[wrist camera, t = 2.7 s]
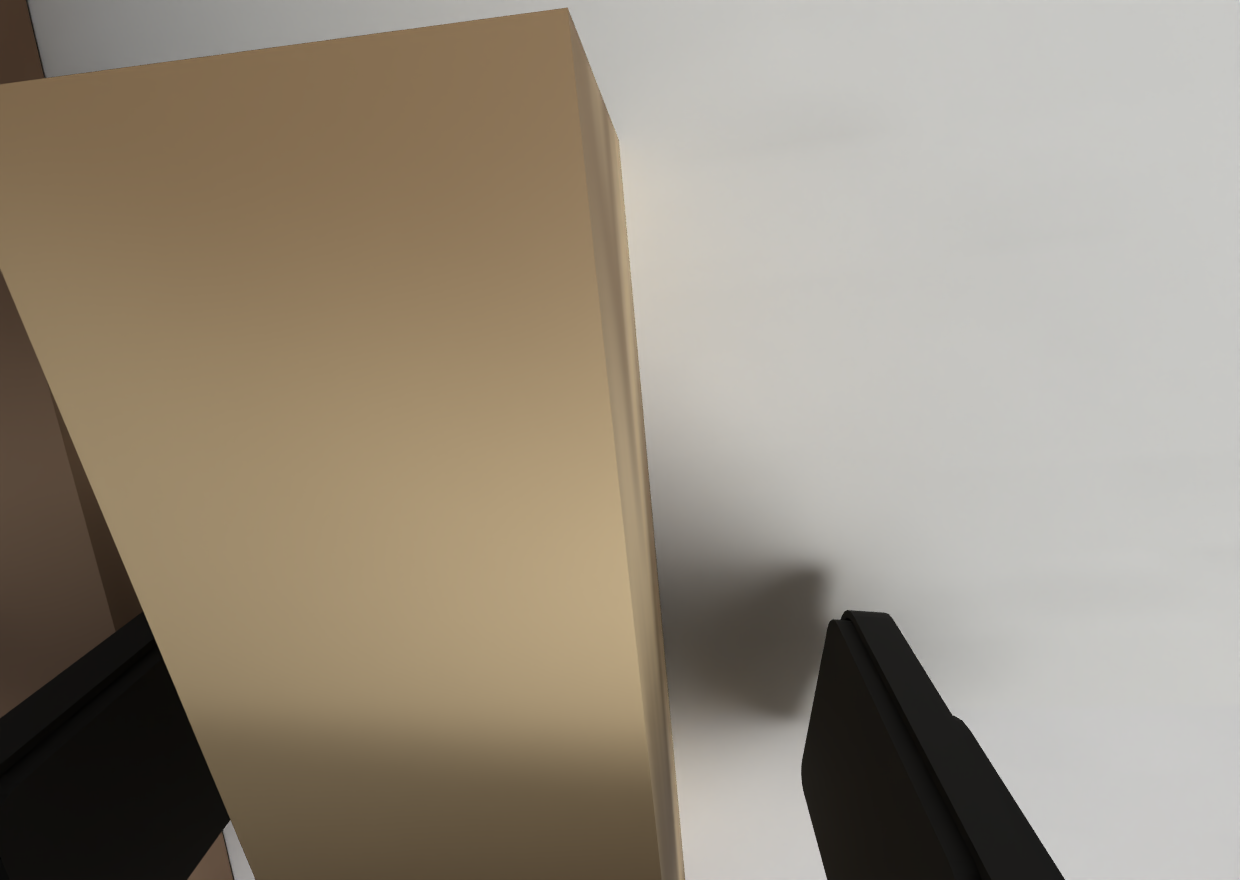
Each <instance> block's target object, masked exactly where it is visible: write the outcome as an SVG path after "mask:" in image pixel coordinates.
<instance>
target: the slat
mask: <svg viewBox="0 0 1240 880" xmlns="http://www.w3.org/2000/svg"><path fill="white" fill-rule="evenodd" d="M0 269H1V272H2V274H3V276H4V279H5V281H6V284H7V286H8V288H9V291H10V293H11V296H12V298H13V300H14V303H15V305H16V308H17V310H18V312H19V315H20V317H21V320H22V322H23V324H24V327H25V329H26V331H27V334H28V336H29V339H30V341H31V343H32V346H33V348H34V351H35V353H36V355H37V358H38V360H39V363H40V365H41V367H42V370H43V372H44V375H45V377H46V379H47V382H48V384H49V387H50V389H51V391H52V394H53V396H54V399H55V401H56V403H57V406H58V408H59V410H60V413H61V415H62V418H63V420H64V422H65V425H66V427H67V430H68V432H69V434H70V437H71V439H72V442H73V444H74V446H75V449H76V451H77V454H78V456H79V458H80V461H81V463H82V466H83V468H84V470H85V473H86V475H87V477H88V480H89V482H90V485H91V487H92V489H93V492H94V494H95V497H96V499H97V501H98V504H99V506H100V509H101V511H102V513H103V516H104V518H105V521H106V523H107V525H108V528H109V530H110V533H111V535H112V537H113V540H114V542H115V544H116V547H117V549H118V552H119V554H120V556H121V559H122V561H123V564H124V566H125V568H126V571H127V573H128V576H129V578H130V580H131V583H132V585H133V588H134V590H135V592H136V595H137V597H138V600H139V602H140V604H141V607H142V609H143V611H144V614H145V616H146V619H147V621H148V623H149V626H150V628H151V631H152V633H153V635H154V638H155V640H156V643H157V645H158V647H159V650H160V652H161V655H162V657H163V659H164V662H165V664H166V667H167V669H168V671H169V674H170V676H171V678H172V681H173V683H174V686H175V688H176V690H177V693H178V695H179V698H180V700H181V702H182V705H183V707H184V710H185V712H186V714H187V717H188V719H189V722H190V724H191V726H192V729H193V731H194V734H195V736H196V738H197V741H198V743H199V745H200V748H201V750H202V753H203V755H204V757H205V760H206V762H207V765H208V767H209V769H210V772H211V774H212V777H213V779H214V781H215V784H216V786H217V789H218V791H219V793H220V796H221V798H222V801H223V803H224V805H225V808H226V810H227V813H228V815H229V817H230V820H231V822H232V824H233V827H234V829H235V832H236V834H237V836H238V839H239V841H240V844H241V846H242V848H243V851H244V853H245V856H246V858H247V860H248V863H249V865H250V868H251V870H252V872H253V875H254V877H255V880H685V873H684V862H683V851H682V840H681V829H680V818H679V807H678V795H677V784H676V773H675V762H674V751H673V740H672V729H671V717H670V706H669V695H668V684H667V673H666V662H665V651H664V640H663V628H662V617H661V606H660V595H659V584H658V573H657V562H656V550H655V539H654V528H653V517H652V506H651V495H650V484H649V473H648V461H647V450H646V439H645V428H644V417H643V406H642V395H641V383H640V372H639V361H638V350H637V339H636V328H635V317H634V306H633V294H632V283H631V272H630V261H629V250H628V239H627V228H626V216H625V205H624V194H623V183H622V172H621V161H620V150H619V140H618V137H617V134H616V132H615V129H614V127H613V124H612V121H611V119H610V116H609V114H608V111H607V108H606V106H605V103H604V101H603V98H602V95H601V93H600V90H599V88H598V85H597V83H596V80H595V77H594V75H593V72H592V70H591V67H590V64H589V62H588V59H587V57H586V54H585V51H584V49H583V46H582V44H581V41H580V38H579V36H578V33H577V31H576V28H575V26H574V23H573V20H572V18H571V15H570V13H569V10H568V8H562V9H554V10H547V11H540V12H532V13H525V14H517V15H510V16H503V17H495V18H488V19H480V20H473V21H466V22H458V23H451V24H443V25H436V26H429V27H421V28H414V29H406V30H399V31H391V32H384V33H377V34H369V35H362V36H354V37H347V38H340V39H332V40H325V41H317V42H310V43H303V44H295V45H288V46H280V47H273V48H266V49H258V50H251V51H243V52H236V53H228V54H221V55H214V56H206V57H199V58H191V59H184V60H177V61H169V62H162V63H154V64H147V65H140V66H132V67H125V68H117V69H110V70H102V71H95V72H88V73H80V74H73V75H65V76H58V77H51V78H43V79H36V80H28V81H21V82H14V83H6V84H0Z"/></svg>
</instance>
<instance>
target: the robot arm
mask: <svg viewBox="0 0 1240 880" xmlns="http://www.w3.org/2000/svg"><path fill="white" fill-rule="evenodd" d="M801 776H802V786H803V791H804V795H805V799H806V802H807V806H808V810H809V814H810V817H811V821H812V825H813V828H814V832H815V836H816V840H817V843H818V847H819V851H820V854H821V858H822V862H823V866H824V869H825V873H826V877H827V880H1065V879H1064V877H1063V876H1062V874H1061V873H1060V871H1059V869H1058V868H1057V866H1056V865H1055V863H1054V862H1053V860H1052V858H1051V857H1050V855H1049V854H1048V852H1047V851H1046V849H1045V847H1044V846H1043V844H1042V843H1041V841H1040V840H1039V838H1038V836H1037V835H1036V833H1035V832H1034V830H1033V829H1032V827H1031V825H1030V824H1029V822H1028V821H1027V819H1026V818H1025V816H1024V814H1023V813H1022V811H1021V810H1020V808H1019V806H1018V805H1017V803H1016V802H1015V800H1014V799H1013V797H1012V795H1011V794H1010V792H1009V791H1008V789H1007V788H1006V786H1005V784H1004V783H1003V781H1002V780H1001V778H1000V777H999V775H998V773H997V772H996V770H995V769H994V767H993V766H992V764H991V762H990V761H989V759H988V758H987V756H986V754H985V753H984V751H983V750H982V748H981V747H980V745H979V743H978V742H977V740H976V739H975V737H974V736H973V734H972V732H971V731H970V730H969V728H968V727H967V726H966V725H965V723H964V722H963V721H962V720H960V719H959V718H957V717H955V716H952V714H951V712H950V711H949V709H948V708H947V706H946V704H945V703H944V701H943V699H942V698H941V696H940V695H939V693H938V691H937V690H936V688H935V687H934V685H933V683H932V682H931V680H930V678H929V677H928V675H927V674H926V672H925V670H924V669H923V667H922V665H921V664H920V662H919V661H918V659H917V657H916V656H915V654H914V653H913V651H912V649H911V648H910V646H909V644H908V643H907V641H906V640H905V638H904V636H903V635H902V633H901V631H900V630H899V628H898V627H897V625H896V623H895V622H894V620H893V619H892V617H891V616H890V615H889V614H887V613H881V612H867V611H852V610H847V611H845V612H844V613H843V615H842V617H841V620H831V621H830V623H829V625H828V629H827V634H826V639H825V644H824V649H823V654H822V660H821V665H820V670H819V675H818V681H817V686H816V691H815V696H814V701H813V707H812V712H811V717H810V722H809V727H808V733H807V738H806V743H805V748H804V753H803V759H802V766H801ZM229 821H230V817H229V815H228V813H227V810H226V808H225V805H224V803H223V801H222V798H221V796H220V793H219V791H218V789H217V786H216V784H215V781H214V779H213V777H212V774H211V772H210V769H209V767H208V765H207V762H206V760H205V757H204V755H203V753H202V750H201V748H200V745H199V743H198V741H197V738H196V736H195V734H194V731H193V729H192V726H191V724H190V722H189V719H188V717H187V714H186V712H185V710H184V707H183V705H182V702H181V700H180V698H179V695H178V693H177V690H176V688H175V686H174V683H173V681H172V678H171V676H170V674H169V671H168V669H167V667H166V664H165V662H164V659H163V657H162V655H161V652H160V650H159V647H158V645H157V643H156V640H155V638H154V635H153V633H152V631H151V628H150V626H149V623H148V621H147V619H146V616H145V614H144V611H143V612H141V613H140V614H139V615H137V616H136V617H135V618H133V619H132V620H131V621H129V622H128V623H127V624H125V625H124V626H123V627H121V628H120V629H119V630H117V631H116V632H115V633H113V634H112V635H111V636H109V637H108V638H107V639H105V640H104V641H103V642H101V643H100V644H99V645H97V646H96V647H95V648H93V649H92V650H91V651H89V652H88V653H87V654H85V655H84V656H83V657H81V658H80V659H79V660H77V661H76V662H75V663H73V664H72V665H71V666H69V667H68V668H67V669H65V670H64V671H63V672H61V673H60V674H59V675H57V676H56V677H55V678H53V679H52V680H51V681H49V682H48V683H47V684H45V685H44V686H43V687H41V688H40V689H39V690H37V691H36V692H35V693H33V694H32V695H31V696H29V697H28V698H27V699H25V700H24V701H23V702H21V703H20V704H19V705H17V706H16V707H15V708H13V709H12V710H10V711H9V712H8V713H6V714H5V715H4V716H2V717H1V718H0V880H187V879H188V878H189V877H190V875H191V874H192V872H193V871H194V870H195V868H196V867H197V866H198V864H199V863H200V861H201V860H202V859H203V857H204V856H205V854H206V853H207V852H208V850H209V849H210V847H211V846H212V845H213V843H214V842H215V840H216V839H217V838H218V836H219V835H220V833H221V832H222V831H223V829H224V828H225V826H226V825H227V824H228V822H229Z"/></svg>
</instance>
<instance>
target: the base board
mask: <svg viewBox="0 0 1240 880" xmlns="http://www.w3.org/2000/svg"><path fill="white" fill-rule="evenodd" d="M43 78H44V75H43V71H42V67H41V62H40V58H39V54H38V50H37V45H36V41H35V37H34V33H33V28H32V24H31V20H30V16H29V11H28V7H27V3H26V0H0V84H6V83H14V82H21V81H28V80H36V79H43ZM141 612H143V609H142V607H141V604H140V602H139V600H138V597H137V595H136V592H135V590H134V588H133V585H132V583H131V580H130V578H129V576H128V573H127V571H126V568H125V566H124V564H123V561H122V559H121V556H120V554H119V552H118V549H117V547H116V544H115V542H114V540H113V537H112V535H111V533H110V530H109V528H108V525H107V523H106V521H105V518H104V516H103V513H102V511H101V509H100V506H99V504H98V501H97V499H96V497H95V494H94V492H93V489H92V487H91V485H90V482H89V480H88V477H87V475H86V473H85V470H84V468H83V466H82V463H81V461H80V458H79V456H78V454H77V451H76V449H75V446H74V444H73V442H72V439H71V437H70V434H69V432H68V430H67V427H66V425H65V422H64V420H63V418H62V415H61V413H60V410H59V408H58V406H57V403H56V401H55V399H54V396H53V394H52V391H51V389H50V387H49V384H48V382H47V379H46V377H45V375H44V372H43V370H42V367H41V365H40V363H39V360H38V358H37V355H36V353H35V351H34V348H33V346H32V343H31V341H30V339H29V336H28V334H27V331H26V329H25V327H24V324H23V322H22V320H21V317H20V315H19V312H18V310H17V308H16V305H15V303H14V300H13V298H12V296H11V293H10V291H9V288H8V286H7V284H6V281H5V279H4V276H3V274H2V272H1V269H0V718H1V717H2V716H4V715H5V714H6V713H8V712H9V711H10V710H12V709H13V708H15V707H16V706H17V705H19V704H20V703H21V702H23V701H24V700H25V699H27V698H28V697H29V696H31V695H32V694H33V693H35V692H36V691H37V690H39V689H40V688H41V687H43V686H44V685H45V684H47V683H48V682H49V681H51V680H52V679H53V678H55V677H56V676H57V675H59V674H60V673H61V672H63V671H64V670H65V669H67V668H68V667H69V666H71V665H72V664H73V663H75V662H76V661H77V660H79V659H80V658H81V657H83V656H84V655H85V654H87V653H88V652H89V651H91V650H92V649H93V648H95V647H96V646H97V645H99V644H100V643H101V642H103V641H104V640H105V639H107V638H108V637H109V636H111V635H112V634H113V633H115V632H116V631H117V630H119V629H120V628H121V627H123V626H124V625H125V624H127V623H128V622H129V621H131V620H132V619H133V618H135V617H136V616H137V615H139V614H140V613H141ZM187 880H233V876H232V872H231V868H230V864H229V859H228V855H227V851H226V847H225V842H224V838H223V834H222V832H221V833H220V835H219V836H218V838H217V839H216V840H215V842H214V843H213V845H212V846H211V847H210V849H209V850H208V852H207V853H206V854H205V856H204V857H203V859H202V860H201V861H200V863H199V864H198V866H197V867H196V868H195V870H194V871H193V872H192V874H191V875H190V877H189V878H188V879H187Z"/></svg>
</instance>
